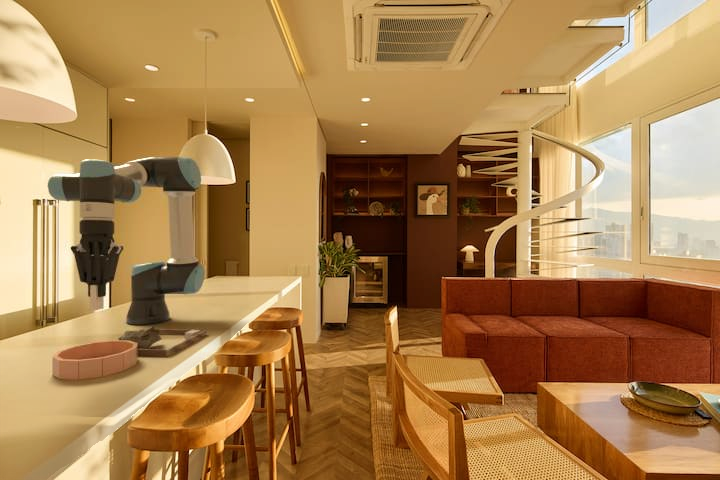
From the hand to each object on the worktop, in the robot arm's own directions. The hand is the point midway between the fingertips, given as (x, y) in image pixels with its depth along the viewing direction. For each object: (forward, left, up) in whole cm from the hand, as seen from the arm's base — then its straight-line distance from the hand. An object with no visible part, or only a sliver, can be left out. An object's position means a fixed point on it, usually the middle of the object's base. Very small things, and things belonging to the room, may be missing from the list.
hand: (97, 309), depth 98 cm
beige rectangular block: (-29, +10, -15) cm, 35 cm away
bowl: (0, 0, -15) cm, 15 cm away
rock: (-19, -1, -15) cm, 24 cm away
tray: (-21, +3, -15) cm, 26 cm away
